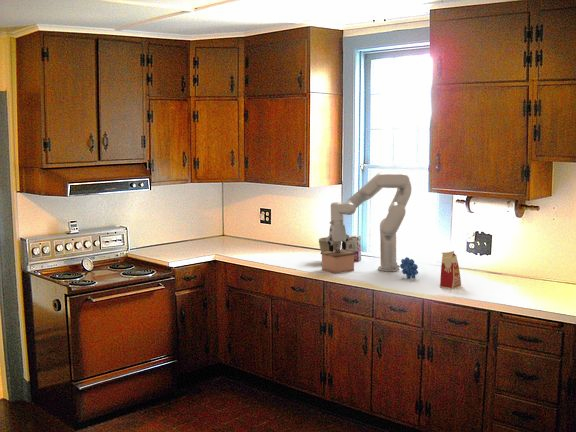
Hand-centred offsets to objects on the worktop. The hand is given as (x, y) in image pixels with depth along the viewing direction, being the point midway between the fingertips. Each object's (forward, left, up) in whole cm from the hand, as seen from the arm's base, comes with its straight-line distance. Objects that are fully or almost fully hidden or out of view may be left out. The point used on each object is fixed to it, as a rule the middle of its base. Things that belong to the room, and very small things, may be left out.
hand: (337, 250), depth 399 cm
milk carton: (-72, -21, -12) cm, 76 cm away
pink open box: (0, 0, -12) cm, 12 cm away
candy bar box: (+18, -25, -12) cm, 33 cm away
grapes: (-43, -18, -12) cm, 48 cm away
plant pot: (+20, -9, -12) cm, 25 cm away
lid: (0, 0, -4) cm, 4 cm away
